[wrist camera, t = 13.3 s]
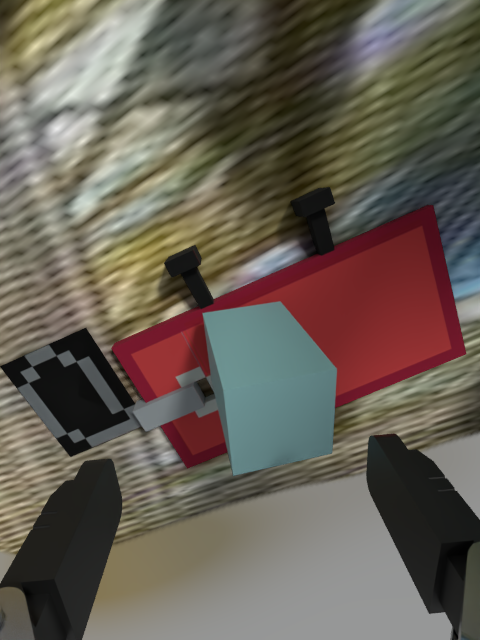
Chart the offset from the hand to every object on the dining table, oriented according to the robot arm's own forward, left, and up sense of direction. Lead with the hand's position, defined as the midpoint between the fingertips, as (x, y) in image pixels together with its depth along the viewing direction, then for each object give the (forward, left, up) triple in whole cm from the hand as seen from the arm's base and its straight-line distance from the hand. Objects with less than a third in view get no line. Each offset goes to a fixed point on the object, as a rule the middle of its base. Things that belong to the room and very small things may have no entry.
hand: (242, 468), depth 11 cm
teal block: (+1, +1, -12) cm, 12 cm away
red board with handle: (+2, 0, -15) cm, 15 cm away
